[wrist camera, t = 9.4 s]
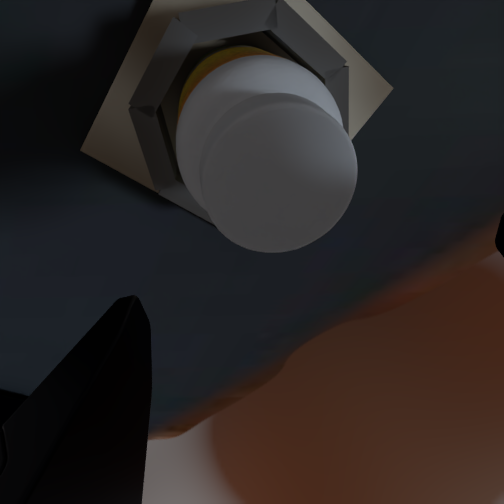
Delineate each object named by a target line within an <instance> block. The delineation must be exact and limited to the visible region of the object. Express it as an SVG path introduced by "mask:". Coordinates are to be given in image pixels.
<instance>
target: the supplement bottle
mask: <svg viewBox="0 0 504 504" xmlns="http://www.w3.org/2000/svg"><path fill="white" fill-rule="evenodd" d="M176 154H177V162H178V166H179V170H180V173H181V176H182V179H183V181H184V183H185V185H186V187H187V189H188V190H189V192H190V193H191V195H192V196H193V198H194V199H195V200H196V201H197V203H198V204H199V205H200V206H201V207H202V208H203V209H205V210H206V211H207V213H208V215H209V217H210V218H211V220H212V222H213V223H214V224H215V226H216V227H217V228H218V230H219V231H220V232H221V233H222V234H223V235H224V236H226V237H227V238H228V239H229V240H231V241H232V242H234V243H236V244H238V245H240V246H242V247H244V248H247V249H250V250H254V251H259V252H268V253H277V252H285V251H290V250H294V249H298V248H300V247H303V246H305V245H308V244H309V243H311V242H313V241H315V240H317V239H318V238H320V237H321V236H323V235H324V234H325V233H327V232H328V231H329V230H330V229H331V228H332V227H333V226H334V225H335V224H336V223H337V222H338V220H339V219H340V218H341V217H342V215H343V214H344V212H345V211H346V209H347V207H348V205H349V203H350V201H351V199H352V196H353V193H354V190H355V186H356V180H357V159H356V154H355V150H354V147H353V144H352V142H351V140H350V137H349V136H348V134H347V132H346V131H345V130H344V128H343V123H342V118H341V115H340V111H339V109H338V106H337V104H336V102H335V100H334V98H333V96H332V95H331V93H330V92H329V90H328V89H327V88H326V86H325V85H324V84H323V83H322V82H321V81H320V80H319V79H318V78H317V77H316V76H315V75H314V74H312V73H311V72H310V71H308V70H307V69H306V68H304V67H302V66H300V65H298V64H297V63H294V62H292V61H290V60H288V59H286V58H283V57H280V56H277V55H274V54H272V53H269V52H266V51H264V50H261V49H259V48H256V47H252V46H248V45H228V46H223V47H219V48H217V49H214V50H212V51H210V52H209V53H207V54H206V55H204V56H203V57H202V58H200V59H199V60H198V61H197V62H196V64H195V65H194V66H193V67H192V69H191V70H190V71H189V73H188V75H187V77H186V79H185V81H184V83H183V86H182V89H181V93H180V98H179V107H178V120H177V129H176Z"/></svg>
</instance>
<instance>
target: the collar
mask: <svg viewBox="0 0 504 504" xmlns="http://www.w3.org/2000/svg"><path fill="white" fill-rule="evenodd" d="M228 45H248V46H252V47H256V48H259V49H261V50H264V51H266V52H269V53H272V54H274V55H277V56H280V57H283V58H286V59H288V60H290V61H292V62H294V63H297V64H298V65H300V66H302V67H304V68H306V69H307V70H308V71H310V72H311V73H312V74H314V75H315V76H316V77H317V78H318V79H319V80H320V81H321V82H322V83H323V84H324V85H325V86H326V88H327V89H328V90H329V92H330V93H331V95H332V96H333V98H334V100H335V102H336V104H337V106H338V109H339V111H340V115H341V118H342V123H343V128H344V130H345V131H346V132H347V134H348V136H349V137H350V140H352V138H353V137H354V136H355V135H356V134H357V132H358V131H359V130H360V129H361V127H362V126H363V125H364V124H365V123H366V121H367V120H368V119H369V118H370V116H371V115H372V114H373V113H374V112H375V110H376V109H377V108H378V107H379V105H380V104H381V103H382V102H383V101H384V99H385V98H386V97H387V96H388V94H389V93H390V92H391V91H392V89H393V87H392V86H391V85H390V84H389V83H388V82H387V81H386V80H385V79H384V78H383V77H382V76H381V75H380V74H379V73H378V72H377V71H376V70H375V69H374V68H373V67H372V66H371V65H370V64H369V63H368V62H367V61H366V60H365V59H364V58H363V57H362V56H361V55H360V54H359V53H358V52H357V51H356V50H355V49H354V48H353V47H352V46H351V45H350V44H349V43H348V42H347V41H346V40H345V39H344V38H343V37H342V36H341V35H340V34H339V33H338V32H337V31H336V30H335V29H334V28H333V27H332V26H331V25H330V24H329V23H328V22H327V21H326V20H325V19H324V18H323V17H322V16H321V15H320V14H319V13H318V12H317V11H316V10H315V9H314V8H313V7H312V6H311V5H310V4H309V3H308V2H307V1H306V0H153V2H152V4H151V6H150V8H149V10H148V12H147V14H146V16H145V18H144V20H143V22H142V24H141V26H140V28H139V30H138V32H137V34H136V36H135V39H134V41H133V43H132V45H131V47H130V49H129V51H128V53H127V55H126V57H125V59H124V61H123V63H122V65H121V67H120V69H119V71H118V73H117V76H116V78H115V80H114V82H113V84H112V86H111V88H110V90H109V92H108V94H107V96H106V98H105V100H104V102H103V104H102V106H101V108H100V110H99V113H98V115H97V117H96V119H95V121H94V123H93V125H92V127H91V129H90V131H89V133H88V135H87V137H86V139H85V141H84V143H83V145H82V147H81V149H80V151H82V152H84V153H86V154H88V155H89V156H91V157H93V158H95V159H97V160H99V161H100V162H102V163H104V164H106V165H108V166H110V167H111V168H113V169H115V170H117V171H119V172H120V173H122V174H124V175H126V176H128V177H130V178H131V179H133V180H135V181H137V182H139V183H141V184H142V185H144V186H146V187H148V188H150V189H151V190H153V191H155V192H157V193H158V194H159V195H161V196H163V197H164V198H166V199H168V200H170V201H172V202H174V203H175V204H177V205H179V206H181V207H183V208H184V209H186V210H188V211H190V212H192V213H194V214H195V215H197V216H199V217H201V218H203V219H205V220H206V221H208V222H210V223H212V224H214V223H213V222H212V220H211V218H210V217H209V215H208V213H207V211H206V210H205V209H203V208H202V207H201V206H200V205H199V204H198V203H197V201H196V200H195V199H194V198H193V196H192V195H191V193H190V192H189V190H188V189H187V187H186V185H185V183H184V181H183V179H182V176H181V173H180V170H179V166H178V162H177V154H176V129H177V120H178V107H179V98H180V93H181V89H182V86H183V83H184V81H185V79H186V77H187V75H188V73H189V71H190V70H191V69H192V67H193V66H194V65H195V64H196V62H197V61H198V60H199V59H200V58H202V57H203V56H204V55H206V54H207V53H209V52H210V51H212V50H214V49H217V48H219V47H223V46H228ZM214 225H215V224H214Z"/></svg>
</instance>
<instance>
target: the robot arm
mask: <svg viewBox="0 0 504 504" xmlns="http://www.w3.org/2000/svg"><path fill="white" fill-rule="evenodd" d="M495 244H496V247H497V249H498V251H499V252H500V253H501V254H502V255H503V257H504V214H503V215H502V217H501V220H500V223H499V227H498V231H497V234H496V238H495ZM151 396H152V360H151V328H150V322H149V319H148V317H147V315H146V313H145V311H144V308H143V306H142V304H141V302H140V300H139V298H138V297H137V296H135V295H132V296H127V297H123V298H119V299H118V300H117V301H116V302H115V303H114V304H113V305H112V306H111V307H110V308H109V309H108V310H107V311H106V313H105V314H104V315H103V316H102V317H101V318H100V319H99V320H98V321H97V322H96V324H95V325H94V326H93V327H92V328H91V329H90V330H89V331H88V332H87V333H86V334H85V336H84V337H83V338H82V339H81V340H80V341H79V342H78V343H77V344H76V345H75V347H74V348H73V349H72V350H71V351H70V352H69V353H68V354H67V355H66V356H65V357H64V359H63V360H62V361H61V362H60V363H59V364H58V365H57V366H56V367H55V368H54V370H53V371H52V372H51V373H50V374H49V375H48V376H47V377H46V378H45V379H44V380H43V382H42V383H41V384H40V385H39V386H38V387H37V388H36V389H35V390H34V391H33V393H32V394H31V395H30V396H29V397H28V398H27V397H23V396H18V395H14V394H10V393H6V392H1V391H0V504H142V494H143V482H144V472H145V461H146V451H147V440H148V429H149V418H150V408H151Z"/></svg>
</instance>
